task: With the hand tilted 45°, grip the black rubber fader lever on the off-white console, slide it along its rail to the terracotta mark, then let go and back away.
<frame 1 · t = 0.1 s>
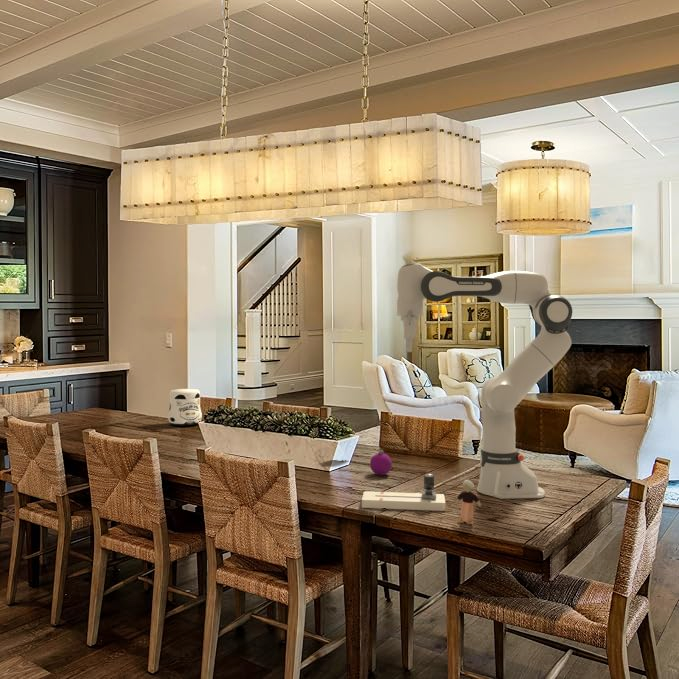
hand: (409, 351, 238), 48 cm above the table, tool pointing down, fingers open, 8 cm apart
fader console: (403, 504, 221), on the table
grandmother figurine: (467, 523, 203), on the table
christmas ornament: (380, 475, 259), on the table
fader: (429, 485, 220), point 6 cm above the table, slide at 0.0 cm
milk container: (185, 425, 363), on the table
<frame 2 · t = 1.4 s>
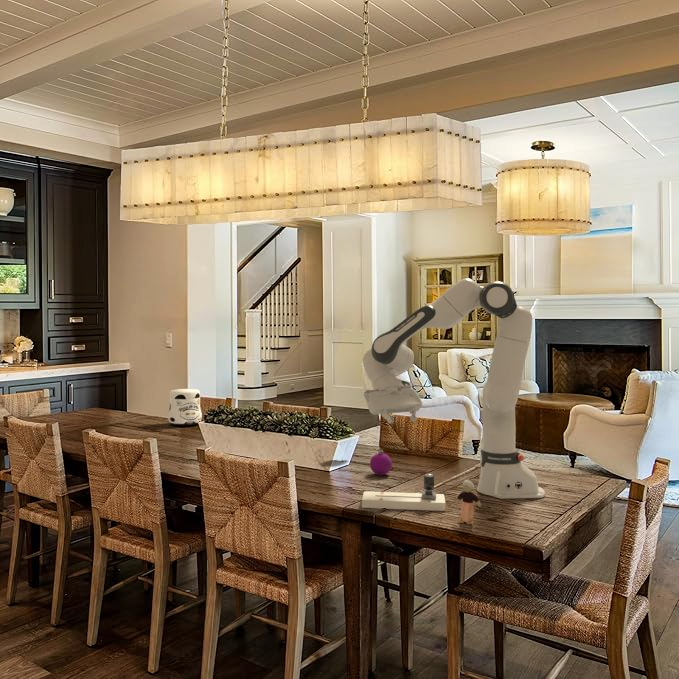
hand: (403, 421, 233), 25 cm above the table, tool tilted 45°, fingers open, 8 cm apart
nothing on the table moved.
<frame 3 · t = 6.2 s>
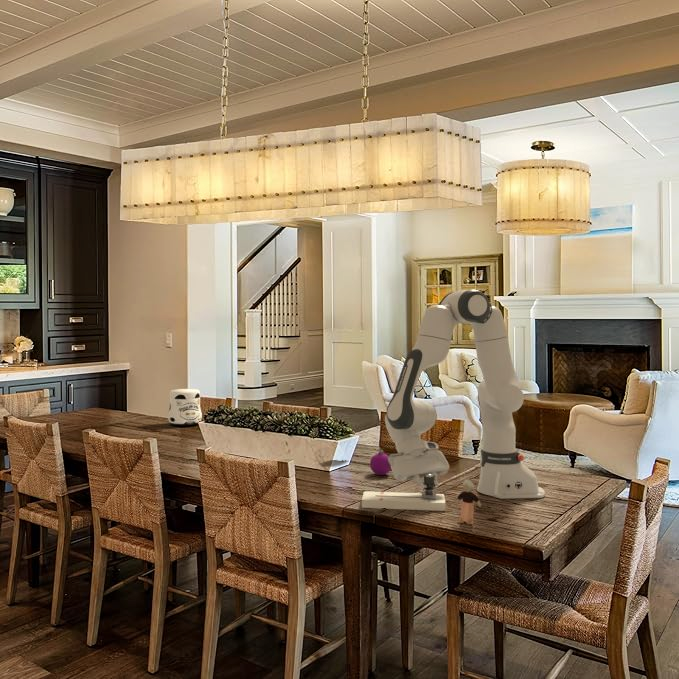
hand: (430, 487, 219), 6 cm above the table, tool tilted 45°, fingers closed on fader, 3 cm apart
fader: (429, 485, 220), point 6 cm above the table, slide at 0.0 cm, touching gripper
everything else where it was.
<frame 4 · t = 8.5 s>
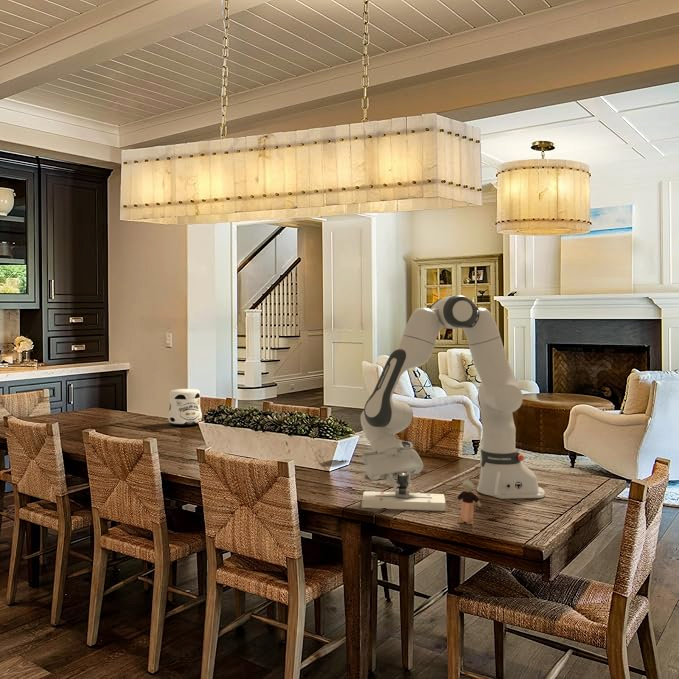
hand: (403, 486, 220), 6 cm above the table, tool tilted 45°, fingers closed on fader, 3 cm apart
fader: (402, 484, 220), point 6 cm above the table, slide at 8.4 cm, touching gripper
everything else where it was.
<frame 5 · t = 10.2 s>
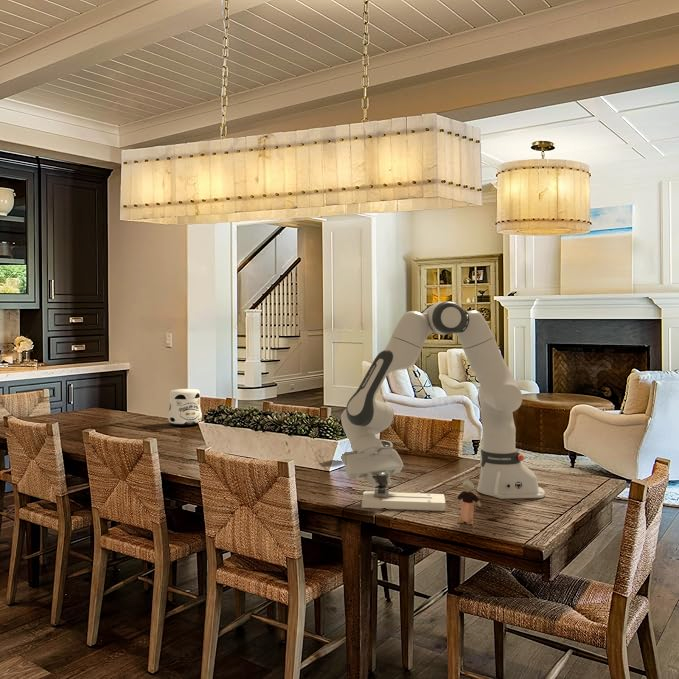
hand: (382, 486, 221), 6 cm above the table, tool tilted 45°, fingers closed on fader, 3 cm apart
fader: (381, 483, 221), point 6 cm above the table, slide at 15.0 cm, touching gripper
everything else where it was.
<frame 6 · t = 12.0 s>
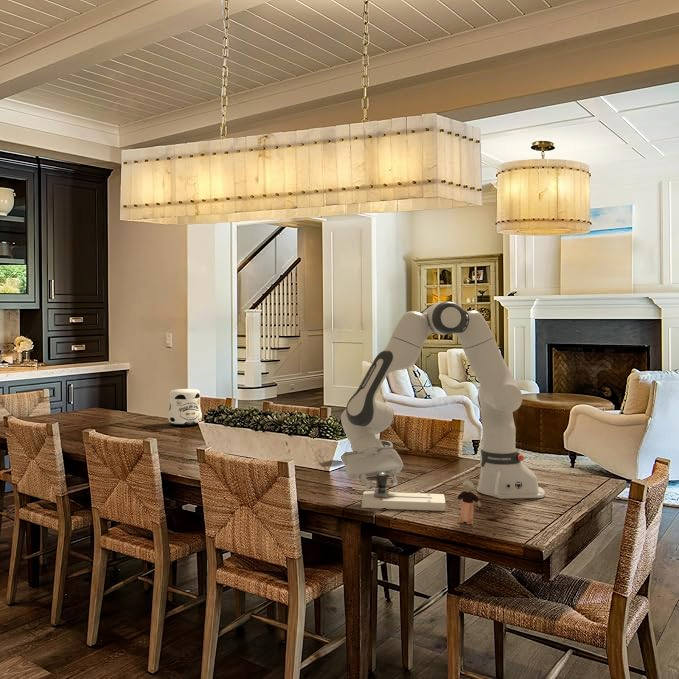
hand: (382, 486, 221), 6 cm above the table, tool tilted 45°, fingers open, 8 cm apart
fader: (381, 483, 221), point 6 cm above the table, slide at 15.1 cm
everything else where it was.
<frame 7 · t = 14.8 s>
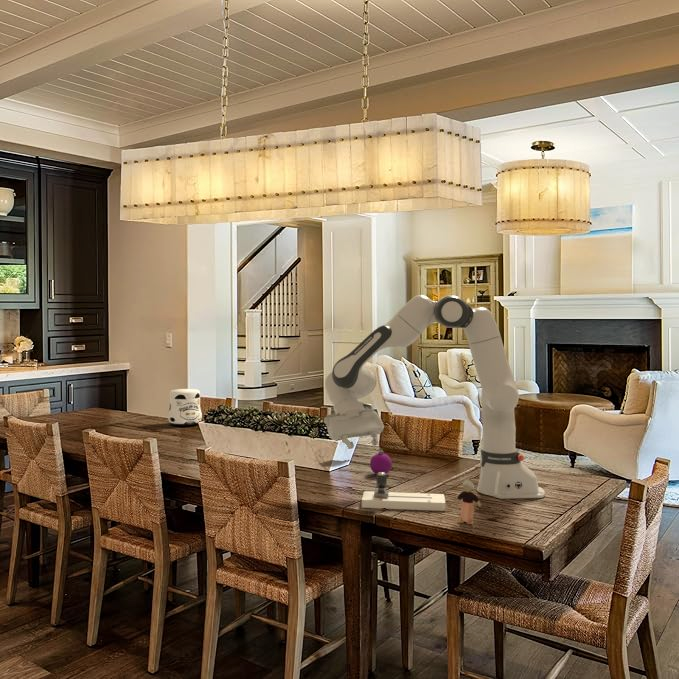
hand: (363, 446, 232), 16 cm above the table, tool tilted 45°, fingers open, 8 cm apart
nothing on the table moved.
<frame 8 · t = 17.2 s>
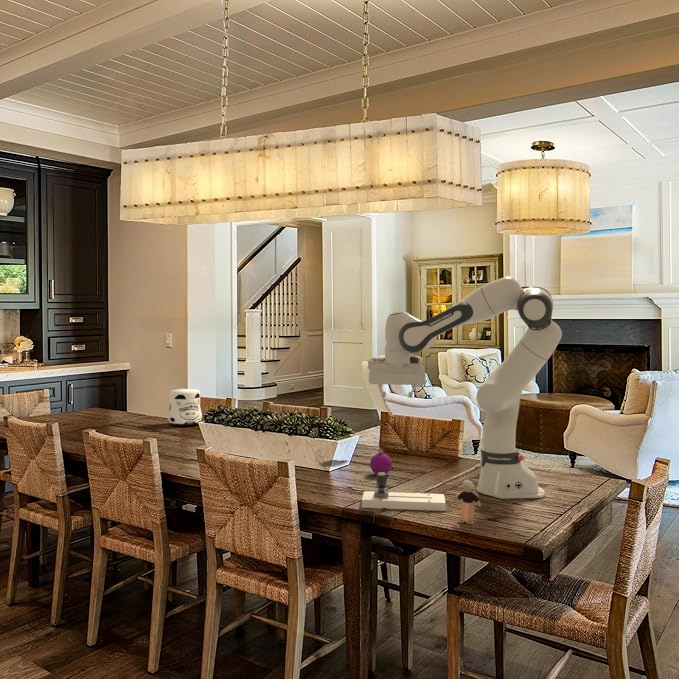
hand: (397, 397, 244), 31 cm above the table, tool pointing down, fingers open, 8 cm apart
nothing on the table moved.
at the end: fader slide at 15.1 cm; the gripper is holding nothing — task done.
